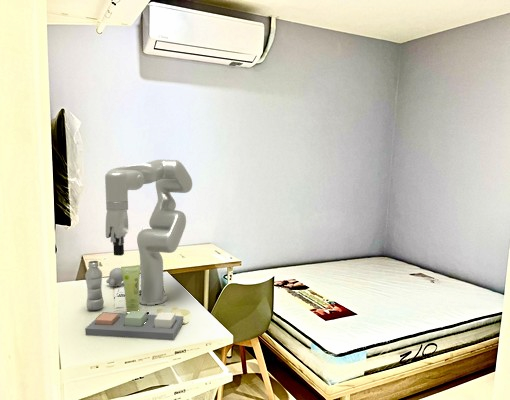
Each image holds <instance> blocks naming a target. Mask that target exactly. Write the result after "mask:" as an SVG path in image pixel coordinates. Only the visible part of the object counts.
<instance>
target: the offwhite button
mask: <svg viewBox="0 0 510 400" xmlns="http://www.w3.org/2000/svg"><path fill="white" fill-rule="evenodd" d="M156 315H157V316H156V318H155V319H154V322H155V328H170V329H171V328H172V327H173V325H174V323H175V316H176V313H175V312H162V311H159V313H158V314H156Z"/></svg>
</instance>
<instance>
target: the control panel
mask: <svg viewBox="0 0 510 400" xmlns="http://www.w3.org/2000/svg"><path fill="white" fill-rule="evenodd" d="M103 313H109V312H106V311H105V312H104V311H103V312H102V313H99V315H98V316H97V317H96V318H95V319H94V320H93V321H92V322H90V323H89V324H88V325H87V326H86V327H85V329H84V332H85V333H84V334H85V336H97V337H111V338H112V337H113V338H131V339H133V338H134V339H148V340H149V339H150V340H164V341H165V340H166V341H167V340H169V341H173V340H175V338H176V336H177V334H178V332H179V331H180V329H181V328H182V326H183V324H184V323H183V320H184V316H182V315H175V323H174V325H173V327H172V328H171V329H170V328H155V322H154V319H155V318H156V316H157V315H158V314H147V321H146V323H145V324H144V325H143V326H142V327H133V326H125V317H126V316H127V315H128V313H127V312H126V313H125V312H123V313H122V312H112V313H113V314H118V316H119V319H118V320H117V321H116V322H115V323H114V324H113V325H96V319H97V318H98V317H99V316H100V315H101V314H103Z"/></svg>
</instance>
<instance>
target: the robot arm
mask: <svg viewBox="0 0 510 400" xmlns="http://www.w3.org/2000/svg"><path fill="white" fill-rule="evenodd" d="M104 179H105V182H104V183H105V186H104V187H105V203H106V207H105V208H106V214H105V238H106V239H109V238H110V243H112V246H113V255H114V256H117V257H118V256H120V257H121V256H123V255H125V248H124V245H125V244H124V243H125V237H126V235H127V234H128V233H129V217H128V210H129V199H128V198H129V197H128V194H129V191H137V190H140V189H141V188H142V187H143V186H144V185H149V184H152V183H155V188H156V196H157V201H156V202H157V203H156V204H155V207H154V209H153V211H152V213H151V216H150V218H149V221H148V223H149V224H148V225H149V227H150V228H145V229H142V230H140V231H139V232H138V234H137V236H136V242H137V248H138V252H139V265H141V268H140V294H139V304H140V303H141V304H140V305H142V304H147V305H146V306H156V305H155V304H158V305H162V304H164V303H165V302H166V301H167V300H168V295H167V294H166V293H164V292H165V291H164V259H163V257H162V254H161V253H163V254H164V253H165V254H166V253H167V254H171V253H174V252H176V250H177V249H178V247H179V244H180V243H181V239H182V236H183V234H184V232H185V228H186V225H187V217H186V214H185V213H184V212H183V211H181V210H176V207H177V203H176V200H175V199H174V198H173V196H172V194H171V193H175V194H177V193H179V194H186V193H189V192H190V191H191V190H192V188H193V179H192V177H191V175H190V173H189V172H188V171H187V168H186V167H185V166H184V164H183V163H182V162H181V161H179V160H178V159H156V160H152V161H148V162H145V163H137V164H132V165H131V164H130V165H125V166H119V167H116V168H112V169H110V170H108V171H107V172H106V174H105V175H104Z"/></svg>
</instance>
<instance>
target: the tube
mask: <svg viewBox="0 0 510 400" xmlns="http://www.w3.org/2000/svg"><path fill="white" fill-rule="evenodd" d="M120 268H121V270H122V275H123V281H122V282H123V288H124V289H123V290H124V298H125V311H126V313H127V312H130V311H138V310H139V311H140V303H139V296H140V280H141V273H140V268H141V265H140V264H138V265H129V266H128V265H127V266H121V267H120Z"/></svg>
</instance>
